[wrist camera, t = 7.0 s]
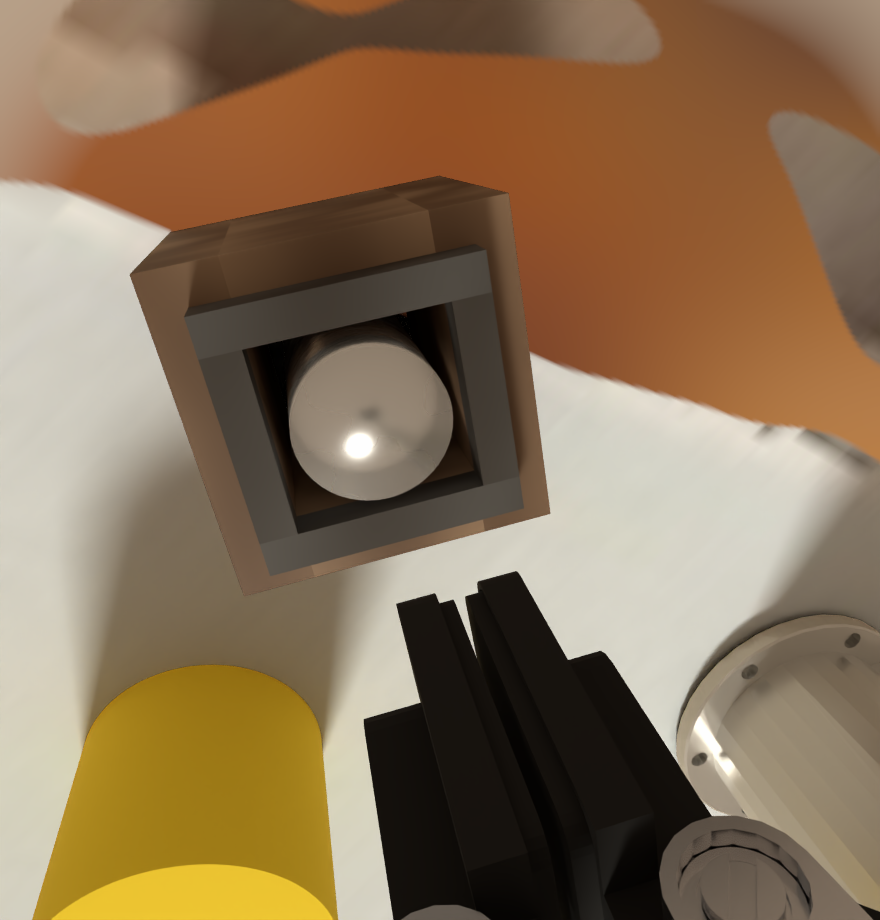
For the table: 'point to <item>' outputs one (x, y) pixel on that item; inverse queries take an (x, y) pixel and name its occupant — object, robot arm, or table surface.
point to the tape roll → (196, 806)
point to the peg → (365, 409)
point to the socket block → (332, 306)
